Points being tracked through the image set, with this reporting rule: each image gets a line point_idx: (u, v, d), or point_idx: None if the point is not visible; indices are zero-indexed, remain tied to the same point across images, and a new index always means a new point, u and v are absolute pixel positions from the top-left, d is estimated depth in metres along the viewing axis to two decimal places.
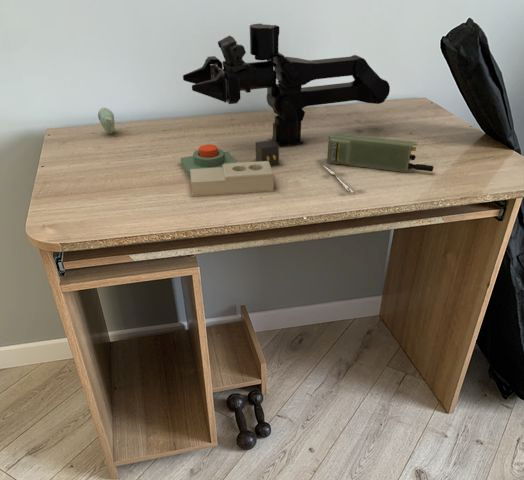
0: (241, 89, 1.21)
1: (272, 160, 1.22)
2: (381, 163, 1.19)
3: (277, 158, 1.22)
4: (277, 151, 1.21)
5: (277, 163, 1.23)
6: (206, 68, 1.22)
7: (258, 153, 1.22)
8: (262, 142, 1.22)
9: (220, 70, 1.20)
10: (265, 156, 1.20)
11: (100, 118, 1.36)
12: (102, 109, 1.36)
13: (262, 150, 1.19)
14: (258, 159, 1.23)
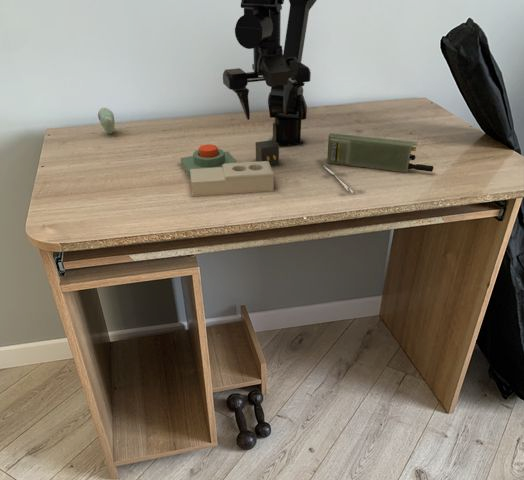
0: None
1: (272, 160, 1.22)
2: (381, 163, 1.19)
3: (277, 158, 1.22)
4: (277, 151, 1.21)
5: (277, 163, 1.23)
6: None
7: (258, 153, 1.22)
8: (262, 142, 1.22)
9: (262, 78, 1.10)
10: (265, 156, 1.20)
11: (100, 118, 1.36)
12: (102, 109, 1.36)
13: (262, 150, 1.19)
14: (258, 159, 1.23)
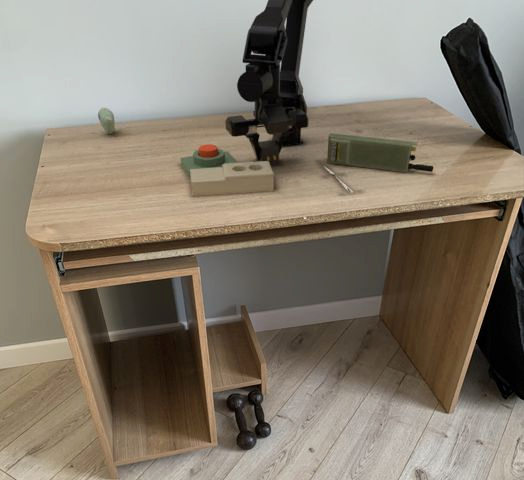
0: None
1: (272, 160, 1.22)
2: (381, 164, 1.19)
3: (277, 158, 1.22)
4: (277, 151, 1.21)
5: (277, 163, 1.23)
6: None
7: None
8: (262, 142, 1.22)
9: None
10: (265, 156, 1.20)
11: (100, 118, 1.36)
12: (102, 109, 1.36)
13: (262, 150, 1.19)
14: None
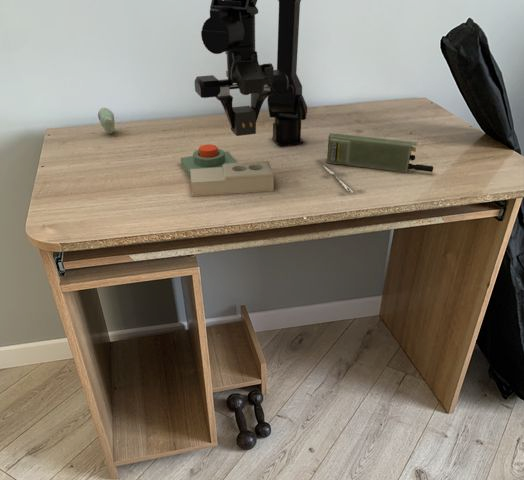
0: None
1: (248, 128, 1.08)
2: (381, 164, 1.19)
3: (254, 125, 1.08)
4: (254, 117, 1.07)
5: (254, 131, 1.09)
6: None
7: None
8: (237, 107, 1.08)
9: None
10: (240, 123, 1.07)
11: (100, 118, 1.36)
12: (102, 109, 1.36)
13: (236, 115, 1.06)
14: None
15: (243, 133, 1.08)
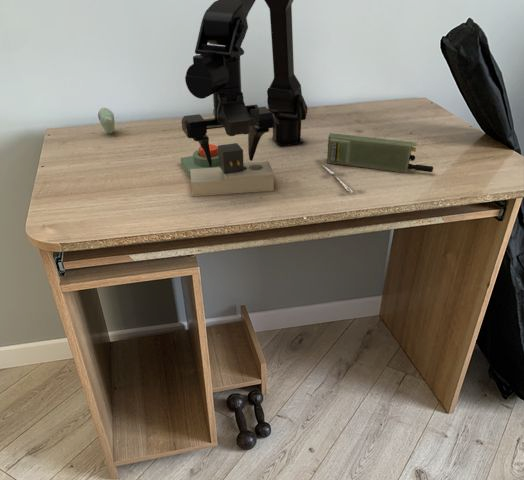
0: None
1: (236, 166, 1.09)
2: (380, 164, 1.19)
3: (241, 163, 1.09)
4: (241, 156, 1.08)
5: (242, 169, 1.10)
6: None
7: (220, 158, 1.09)
8: (225, 145, 1.09)
9: (223, 125, 1.03)
10: (227, 161, 1.08)
11: (100, 118, 1.36)
12: (102, 109, 1.36)
13: (224, 154, 1.07)
14: (221, 164, 1.10)
15: (231, 171, 1.09)
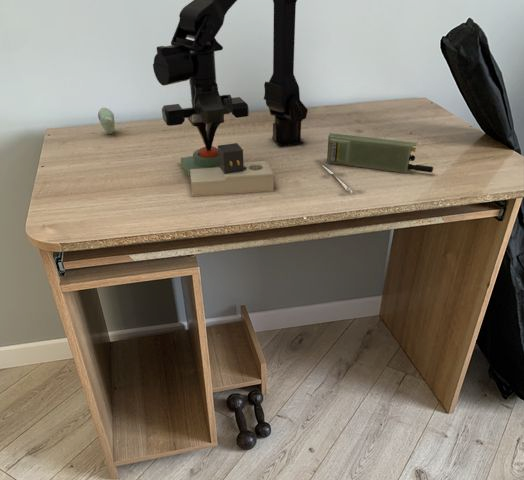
0: None
1: (236, 166, 1.09)
2: (380, 164, 1.19)
3: (242, 163, 1.09)
4: (241, 156, 1.08)
5: (242, 169, 1.10)
6: None
7: (220, 158, 1.09)
8: (225, 145, 1.09)
9: None
10: (227, 161, 1.08)
11: (100, 118, 1.36)
12: (102, 109, 1.36)
13: (224, 154, 1.07)
14: (221, 164, 1.10)
15: (231, 171, 1.09)
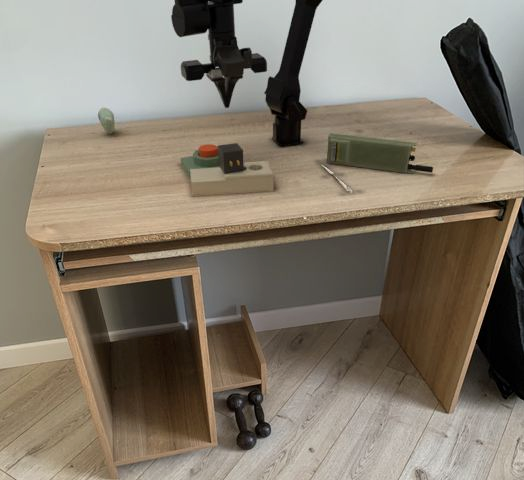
0: None
1: (236, 166, 1.09)
2: (380, 164, 1.19)
3: (242, 163, 1.09)
4: (241, 156, 1.08)
5: (242, 169, 1.10)
6: None
7: (220, 158, 1.09)
8: (225, 145, 1.09)
9: None
10: (227, 161, 1.08)
11: (100, 118, 1.36)
12: (102, 109, 1.36)
13: (224, 154, 1.07)
14: (221, 164, 1.10)
15: (231, 171, 1.09)
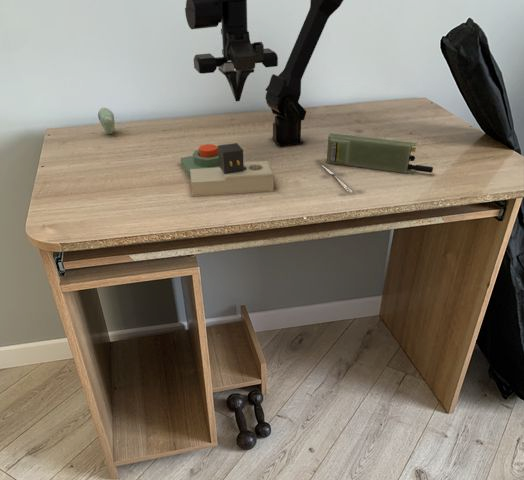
0: None
1: (236, 166, 1.09)
2: (380, 164, 1.19)
3: (241, 163, 1.09)
4: (241, 156, 1.08)
5: (242, 169, 1.10)
6: None
7: (220, 158, 1.09)
8: (225, 145, 1.09)
9: None
10: (227, 161, 1.08)
11: (100, 118, 1.36)
12: (102, 109, 1.36)
13: (224, 154, 1.07)
14: (221, 164, 1.10)
15: (231, 171, 1.09)
